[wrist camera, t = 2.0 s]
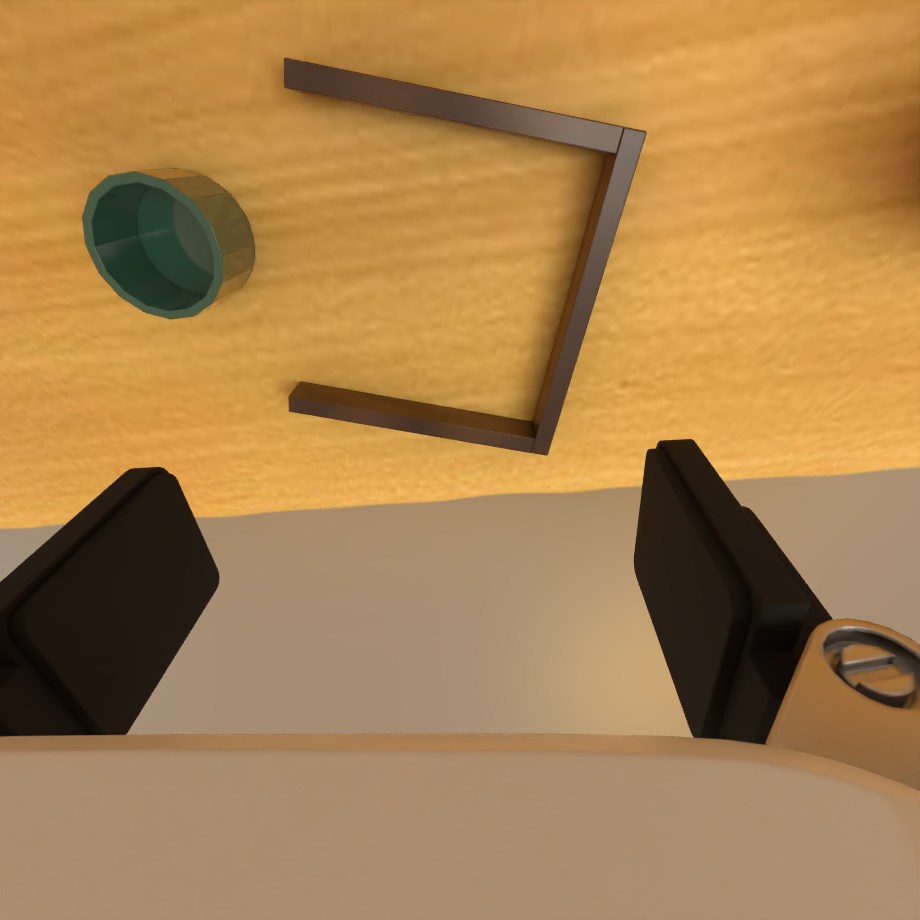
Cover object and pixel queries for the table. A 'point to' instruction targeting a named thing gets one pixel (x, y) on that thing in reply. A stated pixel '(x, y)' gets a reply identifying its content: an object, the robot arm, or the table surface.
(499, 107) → the walnut bay
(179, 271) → the green cup
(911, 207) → the table surface
